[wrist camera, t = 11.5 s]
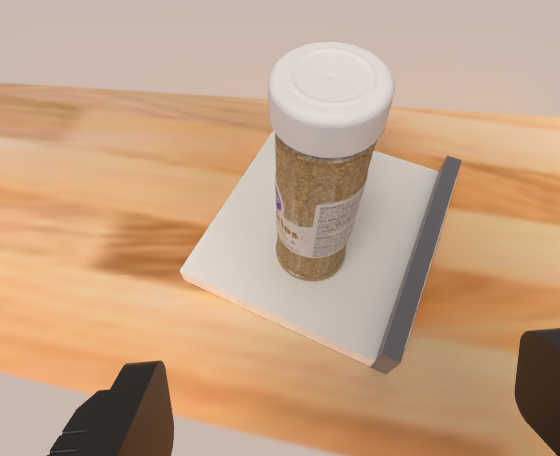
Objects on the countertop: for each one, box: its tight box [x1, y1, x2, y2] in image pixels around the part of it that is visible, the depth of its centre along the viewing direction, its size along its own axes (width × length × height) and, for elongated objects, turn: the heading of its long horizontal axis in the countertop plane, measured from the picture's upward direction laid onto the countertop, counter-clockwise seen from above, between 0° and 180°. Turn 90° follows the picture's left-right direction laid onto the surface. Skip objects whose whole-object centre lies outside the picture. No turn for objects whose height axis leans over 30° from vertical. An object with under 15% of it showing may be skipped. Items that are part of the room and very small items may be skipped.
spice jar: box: [268, 42, 394, 281], centre depth 19 cm, size 5×5×13 cm
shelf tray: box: [180, 130, 461, 374], centre depth 26 cm, size 14×15×3 cm
